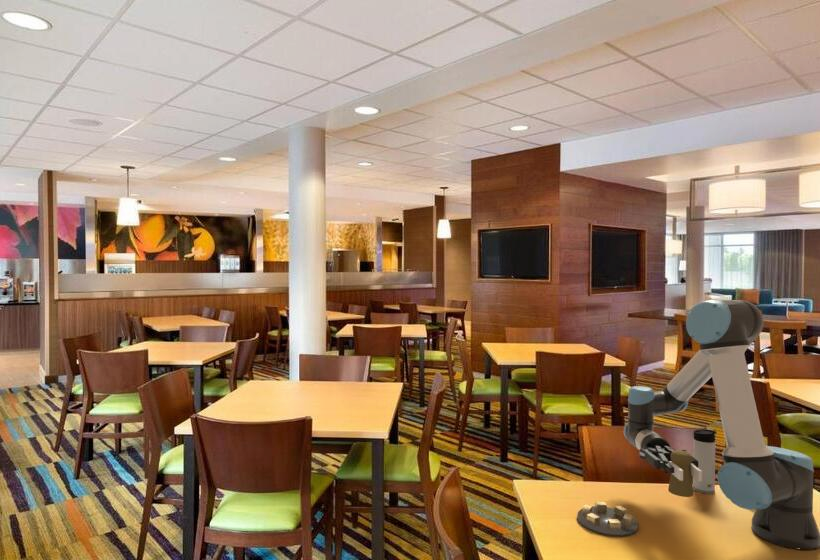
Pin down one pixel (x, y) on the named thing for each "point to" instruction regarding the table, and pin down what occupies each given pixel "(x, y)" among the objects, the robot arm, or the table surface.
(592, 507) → the ring holder
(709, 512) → the table surface
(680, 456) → the cork
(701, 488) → the travel mug
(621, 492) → the table surface
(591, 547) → the table surface
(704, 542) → the table surface
